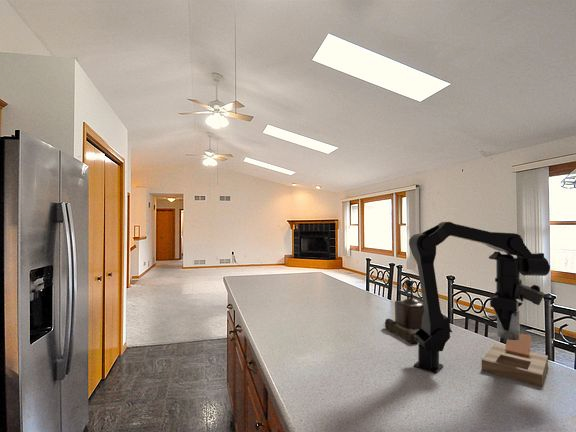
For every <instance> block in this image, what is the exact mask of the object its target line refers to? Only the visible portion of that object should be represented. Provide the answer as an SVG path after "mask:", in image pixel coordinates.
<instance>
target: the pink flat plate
mask: <svg viewBox="0 0 576 432" xmlns="http://www.w3.org/2000/svg"><path fill="white" fill-rule="evenodd" d="M505 346H506V348H505V351H506V352H510V353H514V354H519V355H523V356H528V357H529V356H530V352H531V346H532V335H529V334H526V333H520V339H519V340H508V339H506V343H505Z"/></svg>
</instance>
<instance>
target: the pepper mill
mask: <svg viewBox="0 0 576 432" xmlns="http://www.w3.org/2000/svg"><path fill="white" fill-rule="evenodd" d="M413 284H414V281H413V280H412V279H409V278H408V279H406V280H404V285H405V286H406V289H405V290H403V292H405V293H410V297H408V298H406V299H404V300H396V301H394V321H395V322H397V324H398V325H399V326H401V327H403V328H405V329H408V330H419V329H420V328H421V327H422V316H423V312H424V305H423V300H422V301H421V300H420V297H418V298H415V297H414V296H413V295H414V294H413V293H414V287H413Z"/></svg>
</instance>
